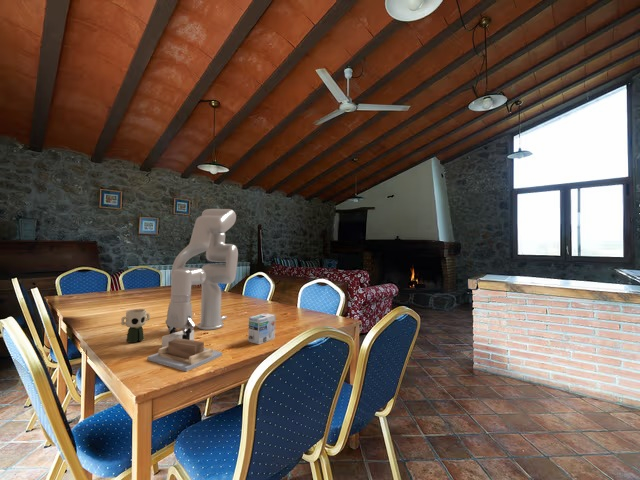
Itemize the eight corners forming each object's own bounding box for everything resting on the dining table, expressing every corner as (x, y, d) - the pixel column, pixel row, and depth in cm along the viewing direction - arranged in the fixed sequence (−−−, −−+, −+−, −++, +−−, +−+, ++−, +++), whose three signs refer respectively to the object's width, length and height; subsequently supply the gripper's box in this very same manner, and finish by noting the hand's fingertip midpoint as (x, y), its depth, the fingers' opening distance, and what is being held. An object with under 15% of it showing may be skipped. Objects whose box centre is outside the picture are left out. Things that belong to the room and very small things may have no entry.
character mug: (124, 346, 118) (125, 314, 118) (117, 342, 122) (118, 311, 122) (152, 339, 127) (153, 309, 127) (144, 336, 131) (145, 307, 131)
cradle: (180, 347, 115) (180, 341, 115) (212, 355, 108) (212, 349, 108) (158, 355, 106) (158, 348, 106) (191, 365, 99) (191, 357, 99)
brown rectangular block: (177, 351, 111) (178, 338, 111) (203, 355, 107) (203, 342, 107) (168, 355, 107) (168, 341, 107) (194, 360, 103) (194, 346, 103)
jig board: (185, 346, 120) (185, 343, 120) (222, 355, 111) (222, 352, 111) (147, 359, 105) (147, 356, 105) (186, 371, 97) (186, 367, 97)
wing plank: (187, 340, 128) (187, 328, 128) (193, 342, 126) (194, 330, 126) (161, 348, 117) (162, 336, 117) (168, 350, 115) (168, 337, 115)
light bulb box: (258, 345, 124) (259, 319, 124) (247, 341, 127) (248, 317, 128) (275, 338, 133) (276, 314, 133) (264, 335, 136) (265, 312, 137)
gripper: (158, 298, 122) (156, 341, 121) (188, 302, 114) (187, 348, 114) (173, 295, 128) (172, 337, 128) (203, 299, 121) (201, 343, 121)
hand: (179, 342), depth 121 cm, fingers open, 6 cm apart
